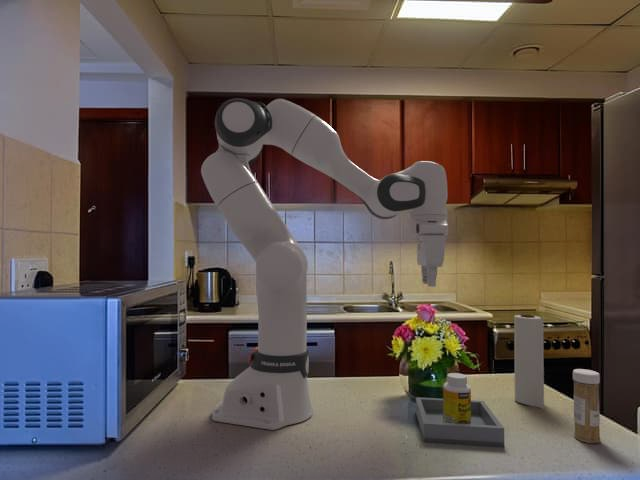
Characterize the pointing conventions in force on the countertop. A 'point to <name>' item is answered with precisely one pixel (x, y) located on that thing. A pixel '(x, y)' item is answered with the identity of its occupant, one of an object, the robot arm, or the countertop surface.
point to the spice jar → (586, 405)
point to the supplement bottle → (456, 399)
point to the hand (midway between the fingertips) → (428, 284)
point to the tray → (459, 425)
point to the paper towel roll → (529, 360)
